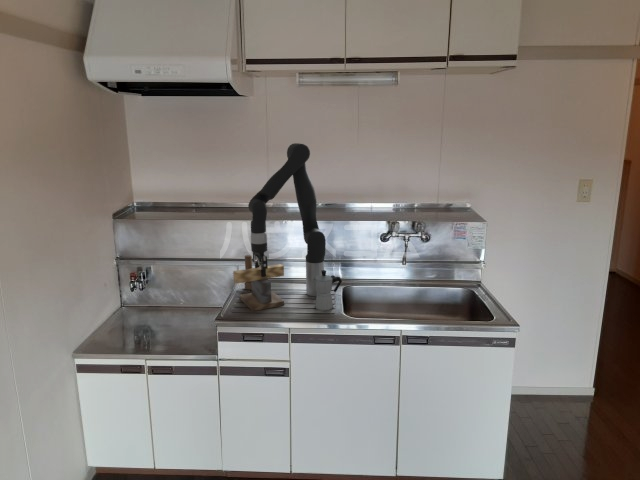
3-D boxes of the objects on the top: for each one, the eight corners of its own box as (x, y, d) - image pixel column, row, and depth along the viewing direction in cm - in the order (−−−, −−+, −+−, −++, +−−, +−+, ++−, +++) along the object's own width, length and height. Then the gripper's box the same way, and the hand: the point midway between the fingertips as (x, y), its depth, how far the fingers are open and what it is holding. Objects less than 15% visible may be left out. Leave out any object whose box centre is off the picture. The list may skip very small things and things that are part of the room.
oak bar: (281, 273, 239) (281, 264, 238) (284, 275, 236) (283, 265, 235) (233, 281, 229) (233, 271, 228) (236, 283, 226) (235, 273, 225)
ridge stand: (270, 293, 247) (269, 270, 244) (284, 305, 231) (283, 281, 228) (240, 298, 240) (238, 275, 237) (251, 311, 224) (250, 286, 221)
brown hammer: (262, 291, 249) (261, 258, 244) (244, 289, 253) (242, 256, 248) (266, 289, 252) (264, 256, 248) (248, 287, 256) (246, 254, 252)
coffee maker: (312, 311, 223) (311, 274, 218) (309, 304, 231) (308, 268, 227) (344, 309, 226) (344, 272, 221) (339, 302, 234) (339, 266, 230)
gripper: (271, 243, 224) (273, 277, 228) (261, 237, 236) (262, 269, 240) (256, 245, 220) (257, 279, 224) (246, 239, 233) (248, 271, 237)
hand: (260, 274), depth 232 cm, fingers open, 8 cm apart
